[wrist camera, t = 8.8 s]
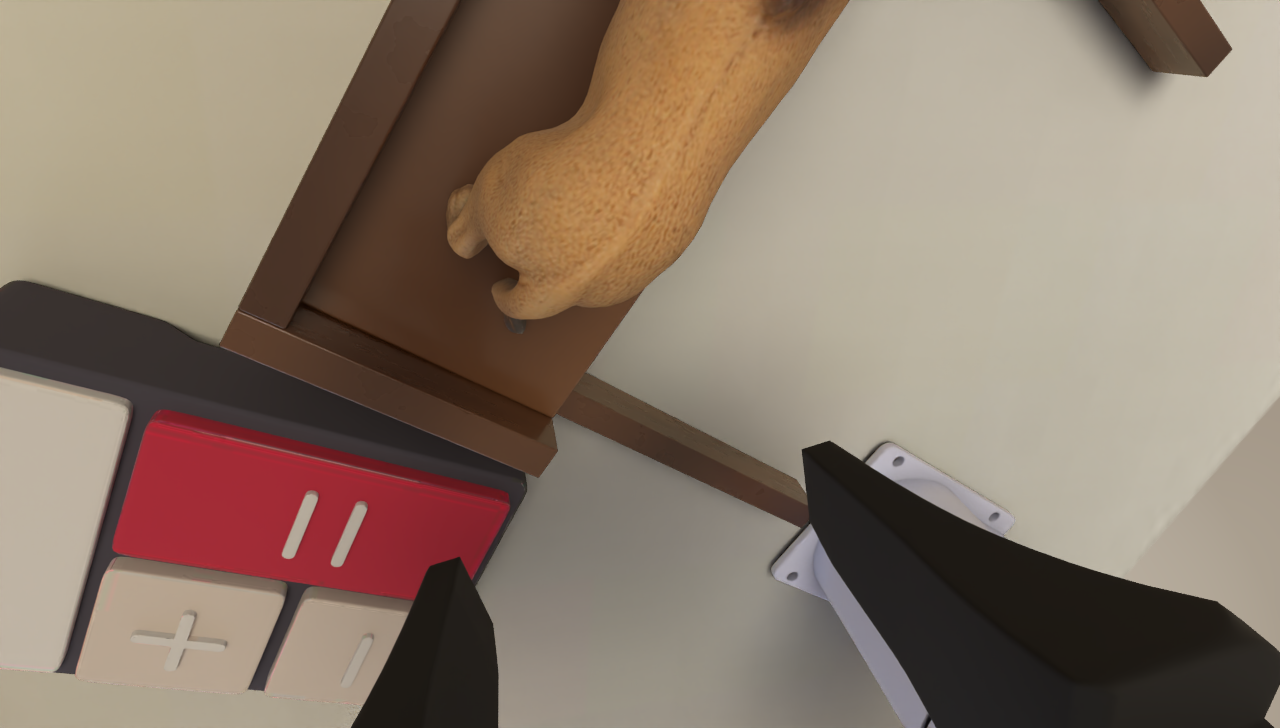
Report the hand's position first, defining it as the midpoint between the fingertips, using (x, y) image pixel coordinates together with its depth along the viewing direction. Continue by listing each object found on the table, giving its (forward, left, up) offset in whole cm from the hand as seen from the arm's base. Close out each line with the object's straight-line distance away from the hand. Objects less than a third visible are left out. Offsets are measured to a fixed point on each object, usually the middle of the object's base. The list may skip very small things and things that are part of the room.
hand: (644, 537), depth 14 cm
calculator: (+6, +11, -11) cm, 16 cm away
